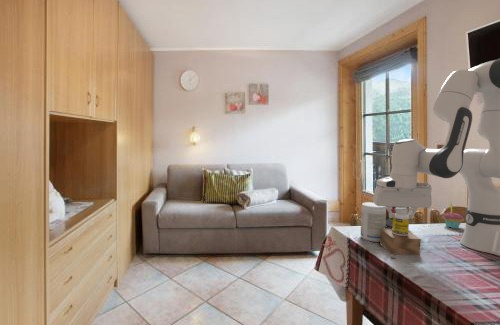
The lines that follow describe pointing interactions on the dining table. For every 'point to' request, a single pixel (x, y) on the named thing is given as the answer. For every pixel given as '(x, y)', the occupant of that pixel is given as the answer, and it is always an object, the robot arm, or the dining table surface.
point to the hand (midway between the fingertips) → (400, 218)
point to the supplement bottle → (400, 222)
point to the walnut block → (400, 243)
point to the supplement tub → (372, 221)
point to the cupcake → (453, 219)
